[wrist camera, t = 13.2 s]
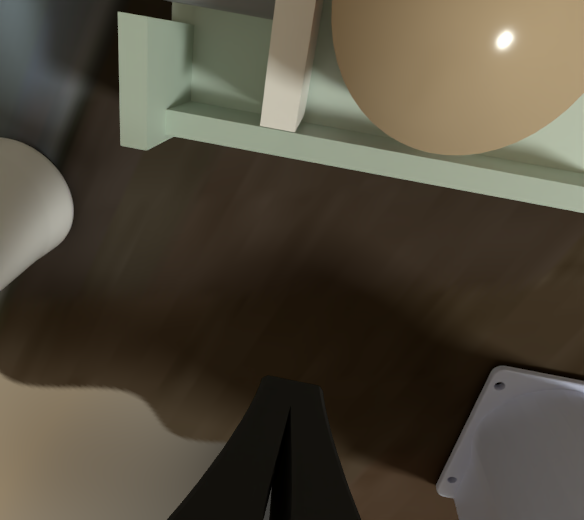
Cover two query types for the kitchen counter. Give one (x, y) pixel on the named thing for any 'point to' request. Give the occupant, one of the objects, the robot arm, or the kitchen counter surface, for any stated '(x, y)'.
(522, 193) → the pale green shallow tray
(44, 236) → the drinking glass
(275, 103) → the pusher
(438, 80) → the jar
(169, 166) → the kitchen counter surface
